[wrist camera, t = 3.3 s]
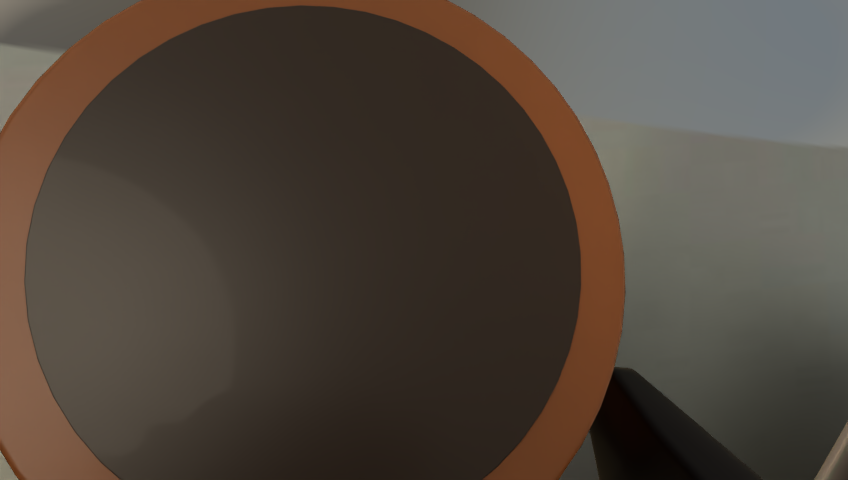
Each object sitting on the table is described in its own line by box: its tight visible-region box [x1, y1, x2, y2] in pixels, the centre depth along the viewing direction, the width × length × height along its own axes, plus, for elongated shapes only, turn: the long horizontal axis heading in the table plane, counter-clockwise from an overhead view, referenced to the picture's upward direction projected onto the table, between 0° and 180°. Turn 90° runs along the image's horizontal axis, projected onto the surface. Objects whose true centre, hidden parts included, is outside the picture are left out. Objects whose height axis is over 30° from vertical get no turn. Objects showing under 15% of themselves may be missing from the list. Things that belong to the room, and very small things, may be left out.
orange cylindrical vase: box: [0, 0, 625, 480], centre depth 10 cm, size 6×6×12 cm
